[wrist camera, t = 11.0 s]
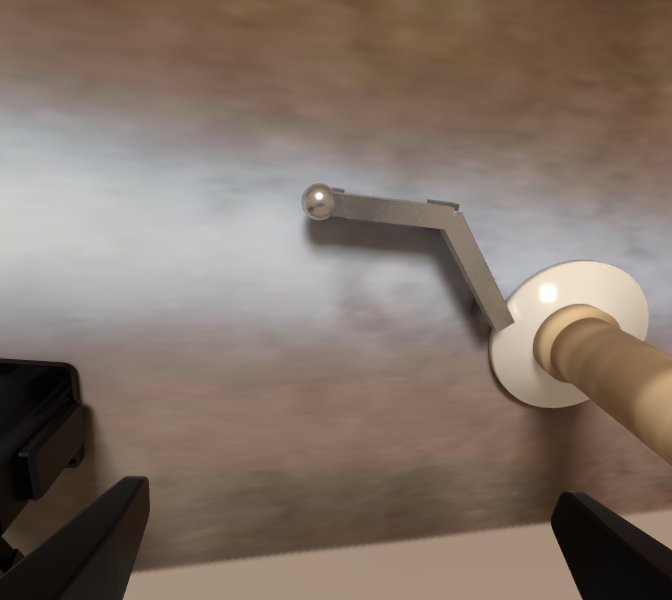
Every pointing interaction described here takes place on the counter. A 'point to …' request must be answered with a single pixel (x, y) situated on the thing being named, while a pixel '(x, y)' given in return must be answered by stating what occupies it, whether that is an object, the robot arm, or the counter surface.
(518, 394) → the coaster
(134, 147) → the counter surface
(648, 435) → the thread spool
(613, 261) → the counter surface
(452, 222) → the rail
